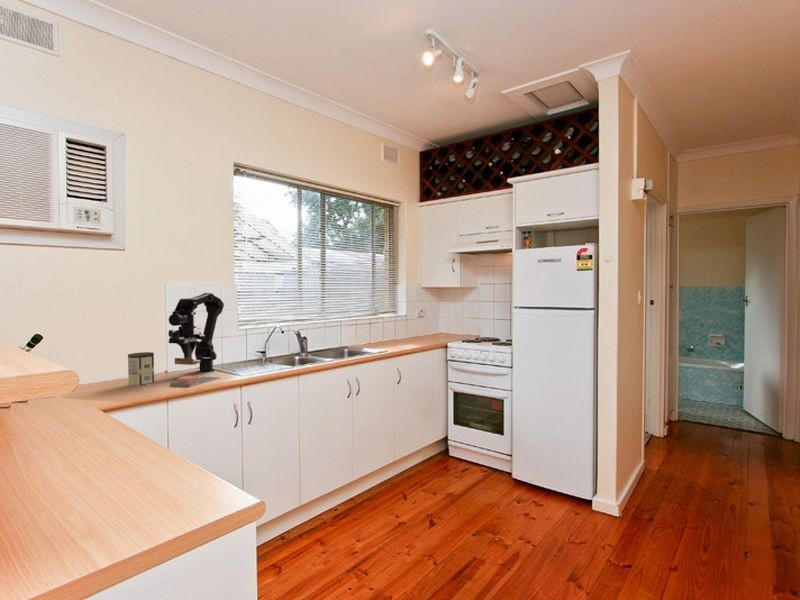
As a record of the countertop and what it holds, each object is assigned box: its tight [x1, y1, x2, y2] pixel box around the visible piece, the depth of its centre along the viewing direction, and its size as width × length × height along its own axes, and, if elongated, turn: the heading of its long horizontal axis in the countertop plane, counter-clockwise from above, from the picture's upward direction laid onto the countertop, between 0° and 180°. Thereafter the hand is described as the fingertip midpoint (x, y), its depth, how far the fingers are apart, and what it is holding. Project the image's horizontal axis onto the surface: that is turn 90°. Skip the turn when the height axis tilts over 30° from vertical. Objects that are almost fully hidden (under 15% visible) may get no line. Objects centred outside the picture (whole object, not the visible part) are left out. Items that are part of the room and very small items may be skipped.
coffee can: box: [127, 351, 155, 388], centre depth 203 cm, size 10×10×14 cm
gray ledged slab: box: [169, 376, 220, 388], centre depth 207 cm, size 22×10×2 cm, turn 165°
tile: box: [176, 375, 199, 385], centre depth 202 cm, size 6×6×3 cm
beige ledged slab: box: [174, 347, 200, 366], centre depth 219 cm, size 6×10×8 cm, turn 75°
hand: (187, 356), depth 220 cm, fingers closed on beige ledged slab, 2 cm apart
